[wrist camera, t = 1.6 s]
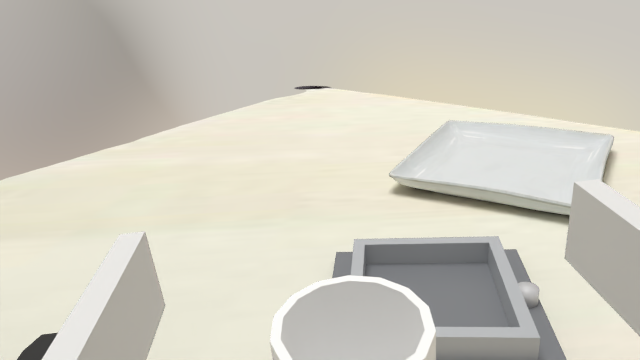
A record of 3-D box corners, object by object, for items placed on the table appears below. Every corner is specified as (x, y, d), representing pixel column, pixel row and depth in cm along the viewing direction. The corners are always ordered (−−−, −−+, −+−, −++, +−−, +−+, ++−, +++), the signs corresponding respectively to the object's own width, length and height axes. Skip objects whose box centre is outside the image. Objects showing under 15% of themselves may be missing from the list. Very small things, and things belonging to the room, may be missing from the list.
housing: (319, 381, 41) (315, 347, 40) (337, 260, 58) (334, 233, 56) (571, 386, 38) (577, 350, 37) (515, 258, 55) (517, 229, 53)
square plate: (386, 196, 73) (385, 172, 71) (448, 137, 93) (448, 117, 92) (593, 233, 59) (597, 204, 57) (612, 154, 79) (615, 131, 78)
